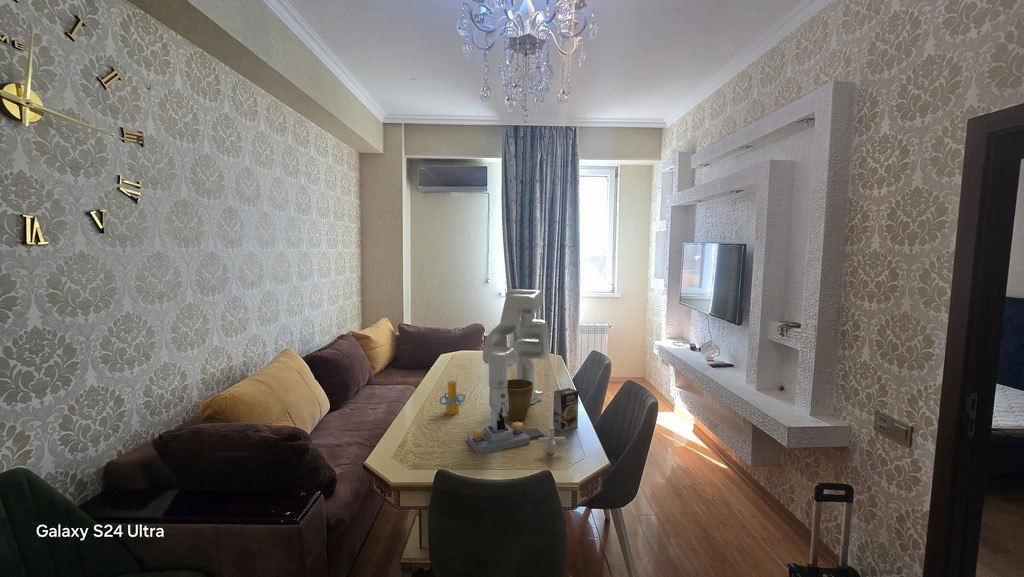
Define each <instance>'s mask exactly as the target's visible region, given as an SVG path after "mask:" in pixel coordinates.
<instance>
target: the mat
mask: <svg viewBox="0 0 1024 577" xmlns="http://www.w3.org/2000/svg"><path fill="white" fill-rule="evenodd" d="M521 430H522V431H524V432H525V433H526V434H527V435H528V436H529V437H530V440H534V439H538V438H545V434H544V432H542V431H541V430H540V429H538V427H534V428H529V429H524V430H523V429H521Z"/></svg>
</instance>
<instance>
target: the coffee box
mask: <svg viewBox="0 0 1024 577" xmlns="http://www.w3.org/2000/svg"><path fill="white" fill-rule="evenodd" d="M552 416H553V417H552V419H553V420H552V421H553V422H552V427H554V429H556V430H558V431H559V432H565V431H569V430H572V429H576V428H578V425H579V424H578V423H579V391H578V390H575V389H573V388H570V387H567V388H564V389H559V390H554V391H553V415H552Z"/></svg>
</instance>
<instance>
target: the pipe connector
mask: <svg viewBox="0 0 1024 577" xmlns="http://www.w3.org/2000/svg"><path fill="white" fill-rule="evenodd" d="M548 430H549V432H547V434H546V435H547V437H540V438H537V439H538V440H537V441H538V444H543V443H544V444H547V443H548V444H549V446H548V448H549V449H548V450H549V451H548V452H549V454H551V455H554V454H555V449H557V443H564V442H565V443H566V437H565V436H555V427H553V426H549V429H548Z"/></svg>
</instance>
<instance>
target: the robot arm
mask: <svg viewBox="0 0 1024 577" xmlns="http://www.w3.org/2000/svg"><path fill="white" fill-rule="evenodd" d="M543 302H544V297H543V293H542V292H541V290H538V289H521V288H516V289H515V288H513V289H509V290H507V291H506V292H505V299H504V304H503V308H502V311H501V312H502V313H501V317H500V321H499V324H498V325H497V326H495V327H494V328H493V329H492V330H491V331H490V332H489V333H488V334H487V336H486V337H485V341H484V345H483V350H482V360H483V362H484V363H485V364H487V365H488V372H487V373H488V388H489V390H488V391H489V393H488V394H489V395H488V400H489V401H488V403H489V407H490V409H491V411H490V414H491V415H492V407H493V408H494V410H495V412H496V413H497V416H498V420H497V430H503V429H505V424H506V417H507V416H508V413H507V412H508V411H509V402H508V391H507V380H508V367H512V366H513V365H515V379H524V380H529V381H531V382H532V383H533V391H532V397H531V401H530V405H533V404H536V403H537V402H538V397H539V396H540V397H541V396H544V392H543V391H542V390H541V391H539V390H535V388H536V386H535V385H536V384H535V383H536V367H535V363H534V362H533V361H532V360H546V359H547V358H548V357H549V355H550V335H549V325H548V322H547V321H546V320H544V319H535V318H534V317H533V314H536V313H537V312H538V310H539V309H540V308H541V307H542V304H543ZM513 333H516V335H517V337H518V338H520V339H517V340H516V341H515V342H514V344H513V347H510V346H500V345H499V346H496V345H494V344H495V343H496V342H497V341H498V340H499V339H501V338H504V337H506V336H508V335H511V334H513ZM500 411H502V412H500ZM500 414H502V415H501V416H500Z"/></svg>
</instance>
